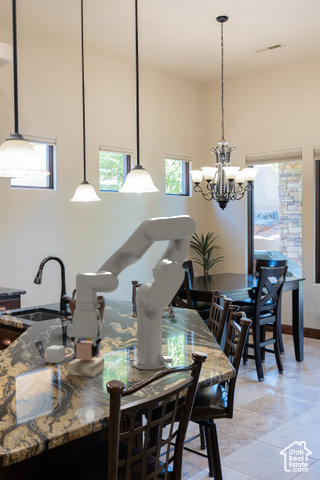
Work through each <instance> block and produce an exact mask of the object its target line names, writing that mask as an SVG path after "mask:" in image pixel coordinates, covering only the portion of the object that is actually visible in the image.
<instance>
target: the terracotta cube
mask: <svg viewBox="0 0 320 480" xmlns="http://www.w3.org/2000/svg"><path fill="white" fill-rule="evenodd" d="M92 346H93V342H92V341H81V342H79V343H77V344H76V357H75V359H82V360H91V359H93V358H94V357H92ZM95 357H96V356H95Z"/></svg>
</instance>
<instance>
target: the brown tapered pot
mask: <svg viewBox="0 0 320 480" xmlns="http://www.w3.org/2000/svg"><path fill="white" fill-rule="evenodd" d="M97 304H100V307H99V308H97V310H99V313H100V319H101V325H102V322H103V317H104V312H105V308H106V302H105V297H104V296H103V295H97ZM68 308H69V310H70V314H71V320H72V321H73V315H74V311H75V310H76V298H75V299H70V300H69V303H68Z"/></svg>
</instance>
